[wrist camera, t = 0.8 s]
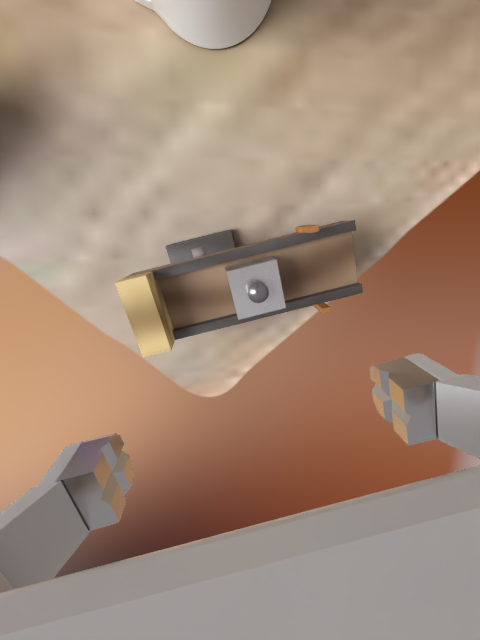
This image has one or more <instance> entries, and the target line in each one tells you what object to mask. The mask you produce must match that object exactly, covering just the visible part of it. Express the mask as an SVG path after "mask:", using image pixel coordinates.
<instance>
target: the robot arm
mask: <svg viewBox="0 0 480 640" xmlns="http://www.w3.org/2000/svg"><path fill="white" fill-rule="evenodd" d="M135 1H136V2H138V3H139V4H141V5H143V6H145V7H147V8H149V9H151V10H153V11H155V12H156V13H157V14H158V15H159V16H160V17H161V18H162V19H163V20H164V21H165V22H166V23H167V25H168V26H169V27H170V28H171V29H172V30H173V31H174V32H175V33H176V34H178V35H179V36H180V37H182V38H183V39H185V40H186V41H188V42H190V43H192V44H194V45H197V46H199V47H203V48H209V49H221V48H227V47H230V46H233V45H236V44H238V43H240V42H241V41H243V40H244V39H246V38H247V37H248V36H250V35H251V34H252V33H253V32H254V31H255V30H256V28H257V27H258V26H259V25H260V23H261V22H262V20H263V18H264V17H265V15H266V13H267V11H268V8H269V6H270V3H271V0H135ZM370 379H371V380H372V381H373V382H374V383H375V384H376V385H375V386H374V388H373V390H372V395H373V400H374V403H375V406H376V408H377V410H378V412H379V413H380V415H381V416H382V417H383V418H384V420H386V421H389V422H391V423H393V427H394V431H395V432H396V433H397V434H398V435H399V436H400V437H401V438H402V439H403V440H404V441H405V442H406V444H407V445H412V444H417V443H421V442H425V441H429V440H433V439H438V440H440V441H442V442H444V443H446V444H448V445H450V446H453V447H455V448H457V449H459V450H461V451H464V452H466V453H468V454H470V455H472V456H475V457H477V458H479V459H480V377H478V376H472V375H467V374H463V375H457V374H456V373H454V372H452V371H451V370H449V369H447V368H445V367H443V366H442V365H440V364H438V363H437V362H435V361H433V360H432V359H430V358H428V357H426V356H425V355H423V354H421V353H415V354H412V355H409V356H405V357H402V358H399V359H396V360H392V361H389V362H385V363H382V364H378V365H375V366H371V367H370ZM123 446H124V443H123V441H122V439H121V437H120V435H118V434H116V433H115V434H112V435H107V436H103V437H99V438H94V439H91V440H86V441H82V442H78V443H75V444H71V445H69V446H67V447H65V448H64V450H63V451H62V453H61V454H60V455H59V457H58V458H57V460H56V461H55V462H54V464H53V465H52V466H51V468H50V469H49V471H48V472H47V474H46V475H45V476H44V478H43V479H42V481H41V482H40V484H39V485H38V486H37V487H35V488H32V489H30V490H29V491H28V492H26V493H25V494H24V495H22V496H21V497H20V498H18V499H17V500H16V501H14V502H13V503H12V504H11V505H9V506H8V507H7V508H5V509H4V510H3V511H1V512H0V640H480V465H478V466H475V467H471V468H468V469H464V470H460V471H456V472H453V473H449V474H445V475H442V476H438V477H434V478H430V479H426V480H422V481H419V482H415V483H411V484H407V485H403V486H400V487H396V488H392V489H388V490H385V491H381V492H377V493H373V494H369V495H366V496H362V497H359V498H354V499H351V500H347V501H343V502H339V503H335V504H332V505H328V506H324V507H321V508H317V509H313V510H310V511H305V512H302V513H298V514H295V515H290V516H287V517H283V518H279V519H276V520H272V521H268V522H264V523H261V524H257V525H253V526H250V527H246V528H242V529H238V530H234V531H231V532H227V533H223V534H220V535H216V536H212V537H208V538H205V539H201V540H197V541H193V542H190V543H186V544H182V545H178V546H175V547H171V548H167V549H163V550H160V551H156V552H152V553H149V554H144V555H141V556H137V557H133V558H130V559H126V560H122V561H118V562H114V563H111V564H107V565H103V566H99V567H96V568H92V569H88V570H84V571H81V572H77V573H73V574H69V575H65V576H62V577H58V578H54V577H55V575H56V574H57V573H58V572H59V570H60V569H61V568H62V567H63V565H64V564H65V563H66V562H67V560H68V559H69V558H70V556H71V555H72V554H73V553H74V551H75V550H76V549H77V548H78V546H79V545H80V544H81V542H82V541H83V540H84V539H85V538H86V536H87V535H88V534H89V531H91V530H95V529H98V528H101V527H105V526H108V525H111V524H115V523H117V522H119V521H120V518H121V515H122V512H123V509H124V506H125V503H126V499H125V497H124V494H125V493H126V492H127V491H128V490H129V489H130V488H131V485H132V482H133V472H134V469H133V464H132V460H131V458H130V456H129V455H128V454H126V453H125V452H123V451H122V449H123ZM53 578H54V579H53Z"/></svg>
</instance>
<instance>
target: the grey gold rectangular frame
mask: <svg viewBox="0 0 480 640" xmlns="http://www.w3.org/2000/svg"><path fill="white" fill-rule="evenodd" d="M354 230H356V225H355V220H354V221H340V222H336V223H332V224H328V225H324V226H320V227H319V226H318V225H303V226H299V227H296V233H292V234H288V235H284V236H280V237H276V238H272V239H268V240H264V241H260V242H256V243H252V244H248V245H244V246H240V247H236V248H235V245H234V241H233V237H232V232H231V230H227V231H223V232H219V233H215V234H211V235H207V236H203V237H199V238H195V239H191V240H187V241H183V242H179V243H175V244H171V245H167V246H166V249H167V252H168V255H169V258H170V262H171V264H168V265H164V266H160V267H156V268H152V269H148V270H144V271H140V272H136V273H133V274H131V275H129V276H127V277H125V278H123V279H122V280H120V281H118V282H116V283H115V284H116V287H117V290H118V292H119V295H120V298H121V300H122V303H123V306H124V308H125V311H126V314H127V316H128V319H129V322H130V324H131V327H132V330H133V332H134V335H135V338H136V340H137V343H138V345H139V348H140V351H141V353H142V356H143V357H147V356H151V355H155V354H159V353H163V352H167V351H171V350H172V347H173V344H174V341H175V340H177V339H180V338H184V337H188V336H192V335H196V334H200V333H204V332H208V331H212V330H216V329H220V328H224V327H228V326H232V325H236V324H240V323H244V322H248V321H252V320H256V319H260V318H264V317H268V316H272V315H276V314H280V313H284V312H288V311H292V310H296V309H300V308H304V307H308V306H312V305H313V306H314V307H315V308H317V309H318V310H319V311H321V312H322V313H323V314H326V313H330V312H331V309H330V307H329V306H328V305H326V304H325V303H324V302H328V301H332V300H335V299H340V298H343V297H347V296H351V295H355V294H359V293H362V284H360V283H358V282H357V272H356V263H355V254H354V245H353V236H352V231H354ZM266 256H271V257H273V258H275V259H277V264H278V269H279V275H280V280H281V285H282V290H283V295H284V300H285V306H286V308H284V309H280V310H276V311H272V312H268V313H264V314H260V315H256V316H252V317H248V318H244V319H240V320H238V317H237V313H236V309H235V305H234V301H233V297H232V293H231V289H230V285H229V281H228V277H227V273H226V269H225V267H226V266H230V265H234V264H238V263H242V262H246V261H250V260H254V259H258V258H262V257H266Z"/></svg>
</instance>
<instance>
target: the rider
mask: <svg viewBox="0 0 480 640" xmlns="http://www.w3.org/2000/svg"><path fill="white" fill-rule="evenodd" d="M225 269H226V273H227V277H228V281H229V285H230V289H231V293H232V297H233V301H234V305H235V309H236V313H237V317H238V320H240V319H244V318H248V317H252V316H256V315H260V314H264V313H268V312H272V311H276V310H280V309H284V308H286V306H285V300H284V295H283V290H282V285H281V280H280V275H279V269H278V264H277V259H275V258H273V257H271V256H266V257H262V258H258V259H254V260H250V261H246V262H242V263H238V264H234V265H230V266H226V267H225Z"/></svg>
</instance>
